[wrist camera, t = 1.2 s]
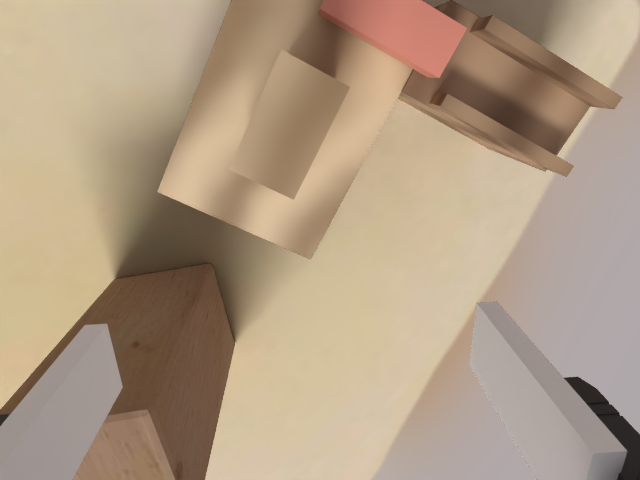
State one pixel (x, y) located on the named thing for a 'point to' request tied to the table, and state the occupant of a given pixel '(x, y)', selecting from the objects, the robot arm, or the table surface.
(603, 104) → the brown wooden open box
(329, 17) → the pink rectangular block
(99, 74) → the table surface
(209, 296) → the wooden block
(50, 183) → the table surface
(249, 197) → the lid
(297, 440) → the table surface
